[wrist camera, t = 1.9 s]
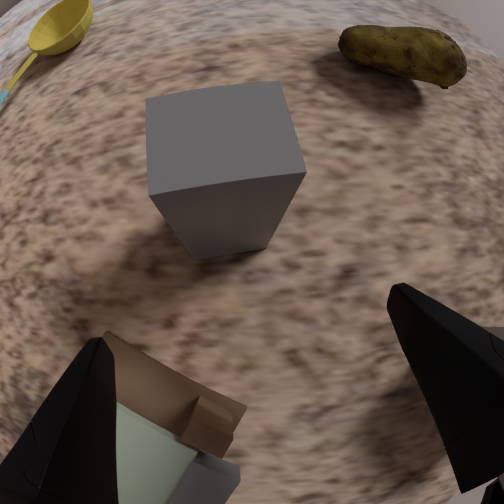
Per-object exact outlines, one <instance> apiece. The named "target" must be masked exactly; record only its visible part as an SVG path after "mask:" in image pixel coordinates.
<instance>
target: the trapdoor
mask: <svg viewBox="0 0 504 504" xmlns="http://www.w3.org/2000/svg"><path fill="white" fill-rule="evenodd" d="M180 439H181V437H179V436H177V435H175V434H173V433H171V432H169V431H167V430H165V429H163V428H161V427H160V426H158V425H156V424H154V423H152V422H150V421H149V420H147V419H145V418H143V417H142V416H140V415H138V414H136V413H135V412H133V411H131V410H130V409H128V408H126V407H125V406H123V405H122V404H120V403H118V402H117V418H116V460H117V485H118V500H119V504H225V502H226V501H227V500H228V498H229V497H230V495H231V494H232V493H233V491H234V490H235V488H236V487H237V485H238V484H239V482H240V481H241V480H240V466H237V465H234V464H232V463H229V462H227V461H224V460H222V459H219V458H217V457H214V456H212V455H210V454H207V453H205V452H203V451H201V450H199V449H198V448H195V447H193V446H191V445H189V444H187V443H185V442H183V441H181V440H180Z"/></svg>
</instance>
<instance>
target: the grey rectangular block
mask: <svg viewBox="0 0 504 504" xmlns="http://www.w3.org/2000/svg"><path fill="white" fill-rule="evenodd" d="M146 150H147V174H148V192H149V197H150V198H151V200H152V201H153V203H154V204H155V205H156V207H157V208H158V210H159V211H160V213H161V214H162V216H163V217H164V219H165V220H166V221H167V223H168V224H169V226H170V227H171V229H172V230H173V232H174V233H175V234H176V236H177V237H178V239H179V240H180V241H181V243H182V244H183V246H184V247H185V248H186V250H187V251H188V253H189V254H190V255H191V257H192V258H193V260H199V259H205V258H211V257H218V256H224V255H230V254H236V253H242V252H248V251H254V250H260V249H266V247H267V245H268V244H269V242H270V240H271V238H272V236H273V234H274V232H275V231H276V229H277V227H278V225H279V223H280V221H281V219H282V217H283V216H284V214H285V212H286V210H287V208H288V206H289V204H290V203H291V201H292V199H293V197H294V195H295V193H296V191H297V189H298V188H299V186H300V184H301V182H302V180H303V178H304V176H305V174H306V173H307V171H306V167H305V164H304V160H303V156H302V153H301V149H300V146H299V142H298V139H297V135H296V132H295V129H294V125H293V122H292V119H291V116H290V112H289V109H288V106H287V103H286V100H285V96H284V93H283V90H282V87H281V84H280V81H274V82H258V83H245V84H235V85H226V86H217V87H210V88H202V89H196V90H189V91H183V92H178V93H172V94H167V95H162V96H157V97H152V98H147V99H146Z"/></svg>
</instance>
